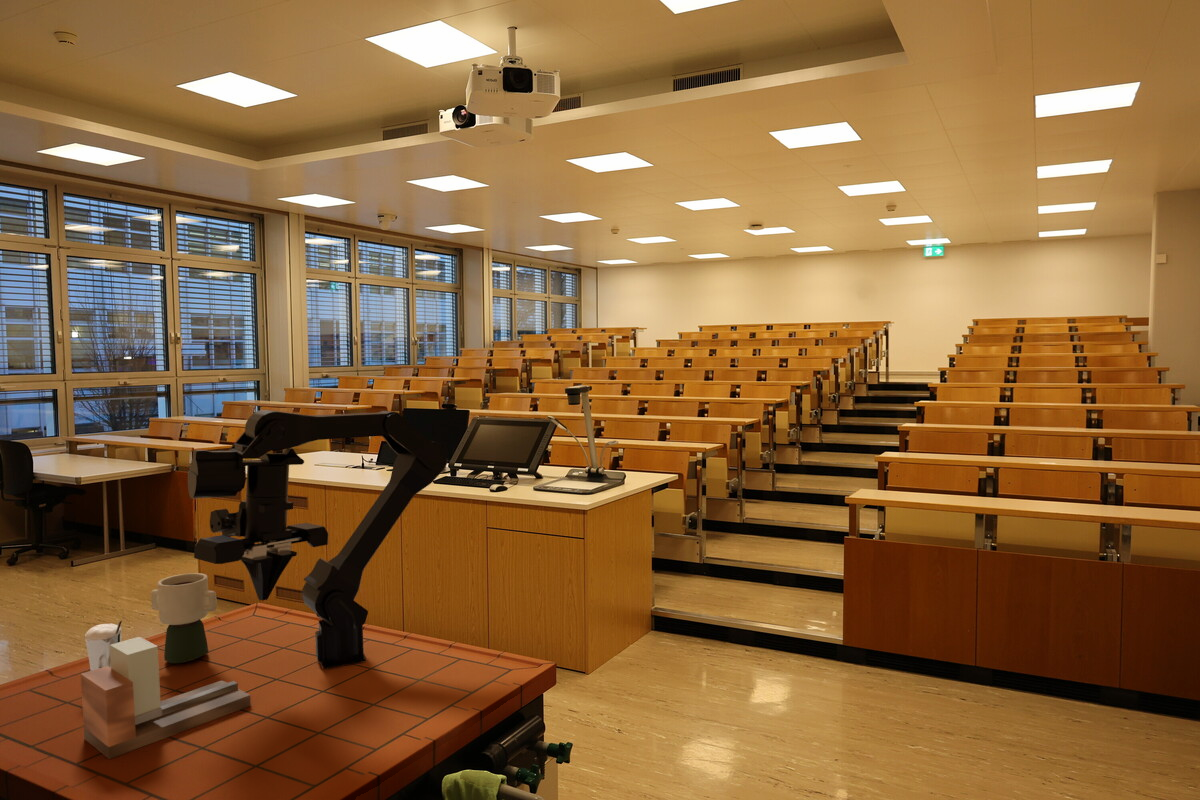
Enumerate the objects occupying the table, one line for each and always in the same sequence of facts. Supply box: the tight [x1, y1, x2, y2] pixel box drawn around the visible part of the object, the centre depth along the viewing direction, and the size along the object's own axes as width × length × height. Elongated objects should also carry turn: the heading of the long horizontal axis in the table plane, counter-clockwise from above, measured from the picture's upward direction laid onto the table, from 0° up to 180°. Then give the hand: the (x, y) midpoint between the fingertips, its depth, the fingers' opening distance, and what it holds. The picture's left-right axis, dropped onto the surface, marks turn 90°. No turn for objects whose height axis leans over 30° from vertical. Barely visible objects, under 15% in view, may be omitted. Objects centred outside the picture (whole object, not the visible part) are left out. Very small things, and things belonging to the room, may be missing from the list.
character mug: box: [150, 572, 218, 664], centre depth 123 cm, size 11×7×13 cm, turn 84°
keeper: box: [110, 636, 162, 725], centre depth 99 cm, size 4×6×9 cm, turn 52°
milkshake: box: [84, 620, 123, 671], centre depth 113 cm, size 5×5×10 cm
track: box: [80, 666, 251, 760], centre depth 102 cm, size 18×8×8 cm, turn 142°
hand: (262, 599), depth 115 cm, fingers closed
